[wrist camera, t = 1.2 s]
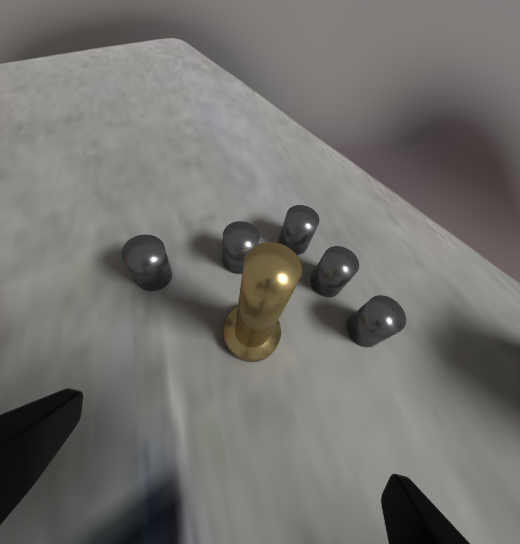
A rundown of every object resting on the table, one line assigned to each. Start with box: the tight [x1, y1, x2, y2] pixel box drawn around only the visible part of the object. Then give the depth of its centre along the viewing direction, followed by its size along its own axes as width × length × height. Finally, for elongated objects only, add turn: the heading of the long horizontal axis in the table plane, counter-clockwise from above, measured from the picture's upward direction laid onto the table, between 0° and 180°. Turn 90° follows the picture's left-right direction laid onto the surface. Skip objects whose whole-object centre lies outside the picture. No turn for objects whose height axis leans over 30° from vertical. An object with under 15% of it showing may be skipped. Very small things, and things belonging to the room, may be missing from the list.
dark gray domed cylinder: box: [223, 221, 260, 274], centre depth 25 cm, size 3×3×4 cm
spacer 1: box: [122, 235, 172, 291], centre depth 23 cm, size 3×3×4 cm
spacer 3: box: [279, 205, 319, 255], centre depth 27 cm, size 3×3×4 cm
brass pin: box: [223, 242, 302, 362], centre depth 18 cm, size 5×5×11 cm
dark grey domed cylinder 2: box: [347, 295, 406, 347], centre depth 23 cm, size 3×3×4 cm
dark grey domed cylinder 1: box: [310, 246, 359, 297], centre depth 25 cm, size 3×3×4 cm
